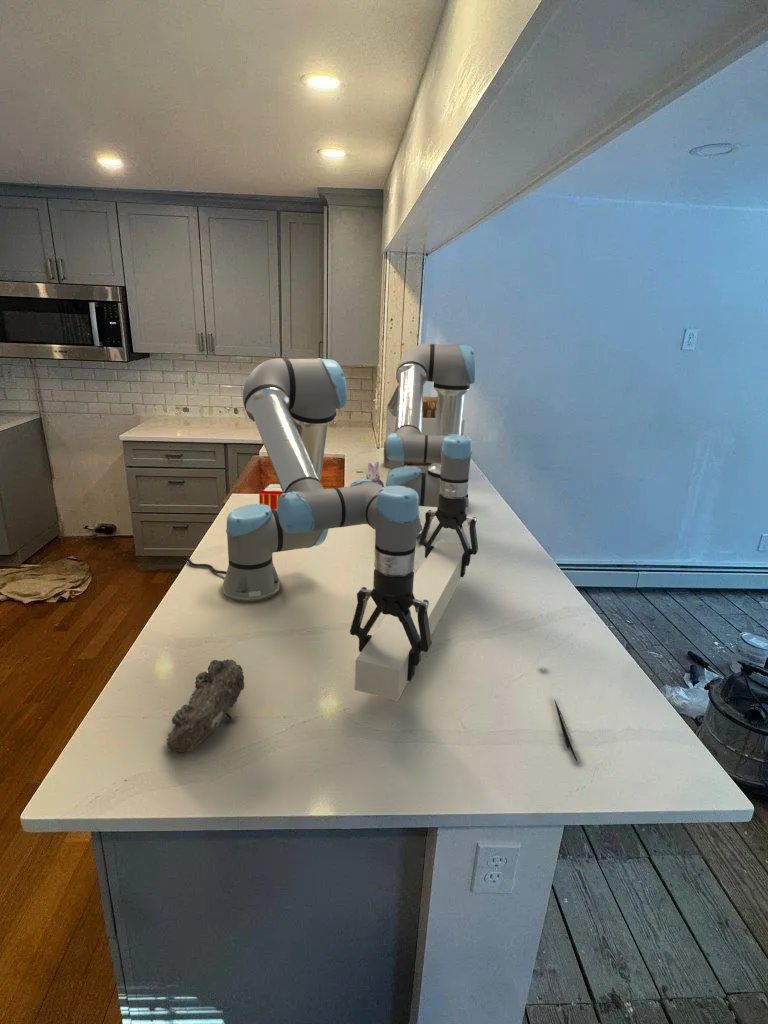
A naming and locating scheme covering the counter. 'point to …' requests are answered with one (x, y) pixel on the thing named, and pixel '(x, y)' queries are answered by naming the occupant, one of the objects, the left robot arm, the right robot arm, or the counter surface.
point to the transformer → (427, 426)
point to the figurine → (374, 473)
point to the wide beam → (389, 645)
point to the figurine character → (467, 500)
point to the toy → (270, 495)
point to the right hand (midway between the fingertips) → (446, 572)
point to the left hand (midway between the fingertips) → (388, 671)
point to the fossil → (206, 705)
